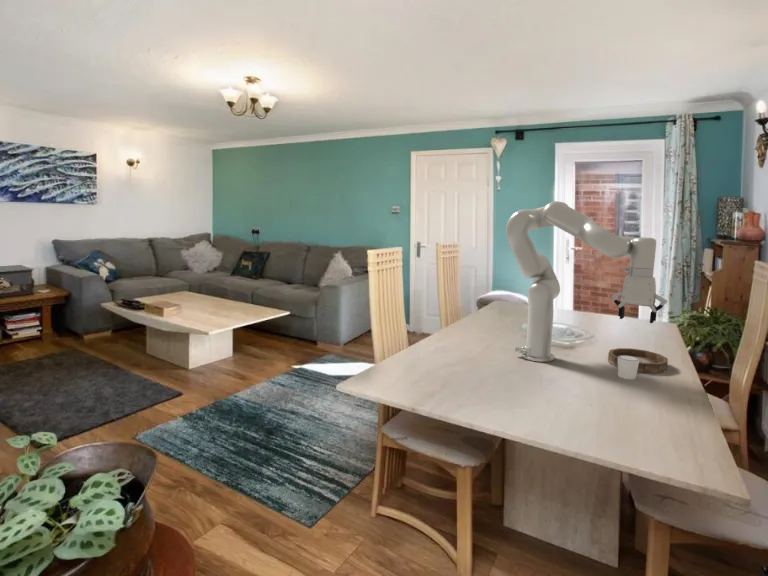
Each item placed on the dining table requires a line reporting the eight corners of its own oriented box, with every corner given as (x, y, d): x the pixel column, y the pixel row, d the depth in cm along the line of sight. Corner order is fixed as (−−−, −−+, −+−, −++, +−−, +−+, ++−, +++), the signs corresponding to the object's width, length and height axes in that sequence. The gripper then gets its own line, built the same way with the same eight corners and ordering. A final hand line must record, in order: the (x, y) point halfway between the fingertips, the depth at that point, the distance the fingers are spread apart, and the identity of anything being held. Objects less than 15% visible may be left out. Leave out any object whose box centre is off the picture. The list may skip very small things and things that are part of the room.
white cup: (640, 380, 159) (642, 361, 158) (619, 379, 161) (621, 360, 160) (633, 374, 166) (635, 355, 165) (613, 372, 167) (615, 354, 166)
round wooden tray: (623, 372, 167) (624, 363, 167) (599, 356, 187) (599, 347, 186) (678, 373, 167) (679, 364, 166) (648, 356, 187) (649, 348, 186)
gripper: (611, 271, 163) (607, 318, 166) (667, 276, 152) (662, 326, 154) (617, 269, 169) (613, 315, 171) (671, 274, 157) (666, 322, 160)
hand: (636, 320), depth 163 cm, fingers open, 9 cm apart
